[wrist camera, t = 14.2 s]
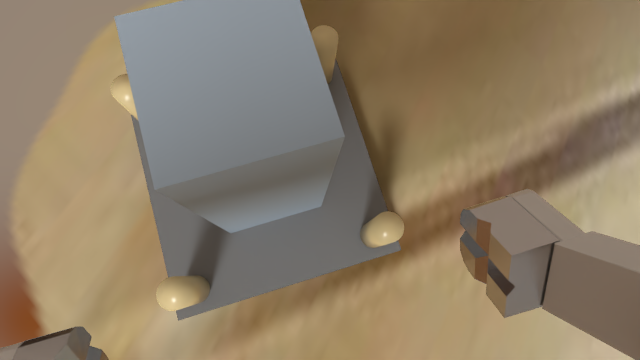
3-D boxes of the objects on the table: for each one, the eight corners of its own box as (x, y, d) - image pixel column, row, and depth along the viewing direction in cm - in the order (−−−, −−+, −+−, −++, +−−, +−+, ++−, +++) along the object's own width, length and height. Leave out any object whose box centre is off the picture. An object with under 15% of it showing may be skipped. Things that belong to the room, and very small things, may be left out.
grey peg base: (138, 114, 25) (94, 71, 19) (331, 64, 26) (340, 10, 21) (186, 317, 23) (151, 331, 17) (394, 251, 24) (422, 245, 19)
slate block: (295, 122, 24) (291, -25, 12) (321, 206, 23) (345, 136, 11) (207, 146, 23) (114, 16, 11) (230, 233, 22) (154, 189, 10)
